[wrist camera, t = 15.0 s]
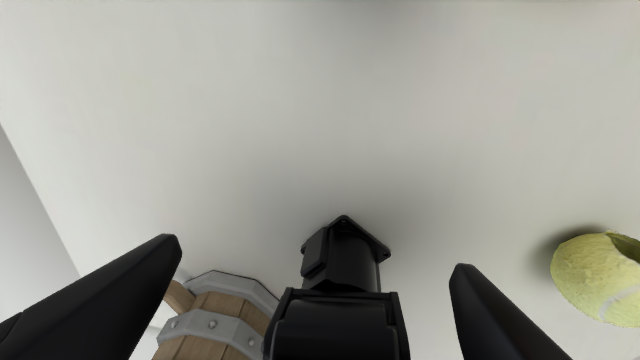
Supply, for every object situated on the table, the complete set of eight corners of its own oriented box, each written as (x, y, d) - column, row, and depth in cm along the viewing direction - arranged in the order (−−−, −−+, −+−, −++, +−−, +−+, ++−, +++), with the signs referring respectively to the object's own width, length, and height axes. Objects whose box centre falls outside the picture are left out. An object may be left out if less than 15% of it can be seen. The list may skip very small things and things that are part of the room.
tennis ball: (581, 278, 25) (649, 356, 19) (514, 259, 24) (562, 333, 19) (644, 229, 21) (748, 307, 15) (566, 207, 21) (644, 278, 15)
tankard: (302, 320, 34) (269, 502, 21) (233, 339, 39) (173, 497, 26) (184, 213, 26) (24, 396, 14) (117, 254, 31) (-47, 416, 18)
